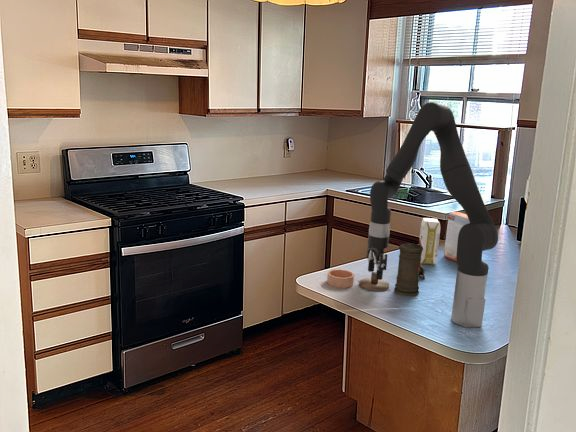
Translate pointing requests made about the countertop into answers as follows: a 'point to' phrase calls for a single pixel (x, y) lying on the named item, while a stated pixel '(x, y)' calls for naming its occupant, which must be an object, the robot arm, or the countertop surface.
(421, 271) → the pottery mug
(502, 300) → the countertop surface
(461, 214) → the cracker box
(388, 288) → the mat
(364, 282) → the lid
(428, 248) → the juice carton
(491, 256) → the countertop surface
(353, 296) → the countertop surface
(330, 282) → the bowl
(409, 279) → the container
